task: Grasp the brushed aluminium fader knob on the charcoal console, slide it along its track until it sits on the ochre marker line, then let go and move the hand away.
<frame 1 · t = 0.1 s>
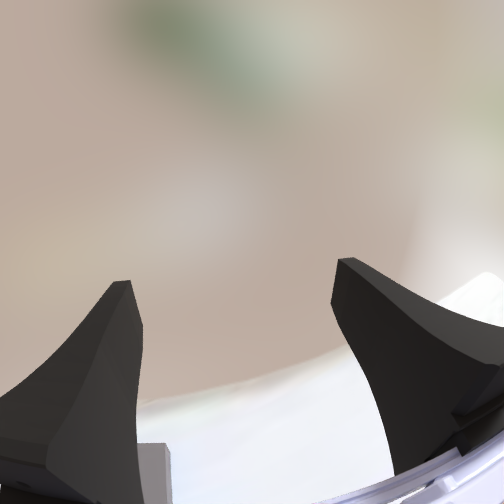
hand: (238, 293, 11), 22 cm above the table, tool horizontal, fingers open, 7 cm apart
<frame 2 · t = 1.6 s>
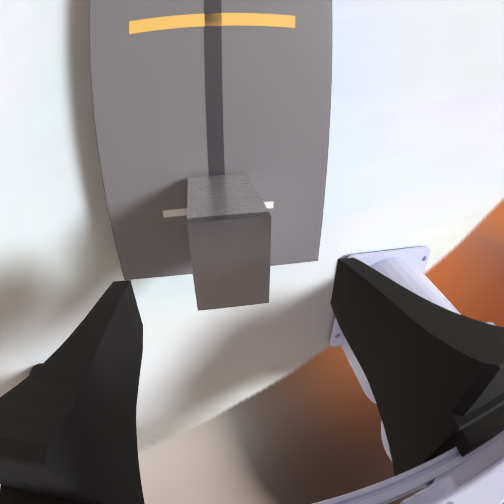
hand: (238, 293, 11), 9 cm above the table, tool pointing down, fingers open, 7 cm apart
fader console: (211, 94, 16), on the table
fader knob: (224, 234, 15), point 5 cm above the table, slide at 0.0 cm
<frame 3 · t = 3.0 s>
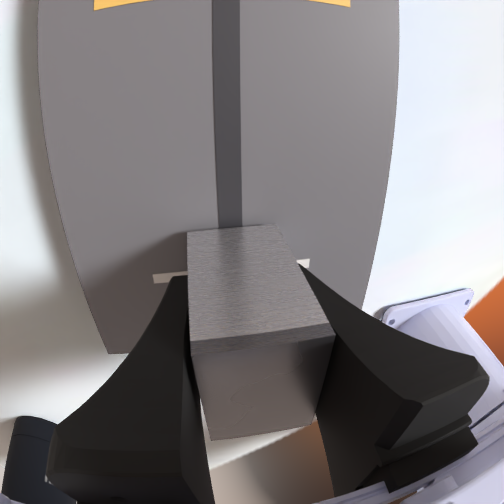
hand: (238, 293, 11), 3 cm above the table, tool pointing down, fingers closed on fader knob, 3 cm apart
fader console: (221, 101, 11), on the table
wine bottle: (48, 432, 20), on the table
fader knob: (246, 327, 10), point 5 cm above the table, slide at 0.0 cm, touching gripper
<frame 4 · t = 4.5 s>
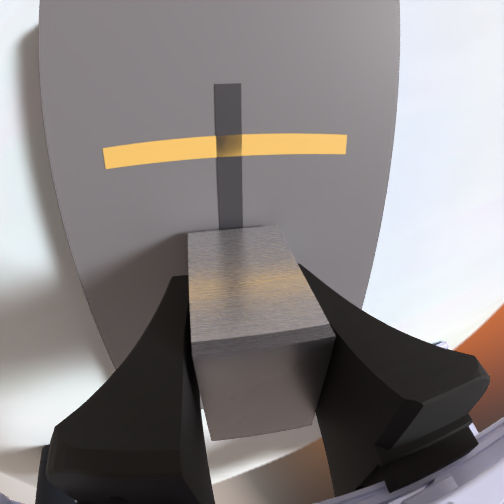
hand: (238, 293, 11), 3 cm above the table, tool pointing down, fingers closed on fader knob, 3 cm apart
fader console: (226, 230, 13), on the table
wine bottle: (72, 457, 23), on the table
fader knob: (246, 328, 10), point 5 cm above the table, slide at 5.3 cm, touching gripper
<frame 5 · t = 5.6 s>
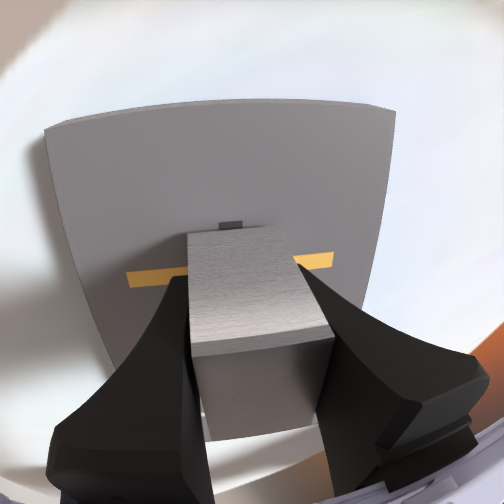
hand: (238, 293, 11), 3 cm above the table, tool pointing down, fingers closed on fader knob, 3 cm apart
fader console: (230, 314, 16), on the table
fader knob: (246, 328, 10), point 5 cm above the table, slide at 9.9 cm, touching gripper
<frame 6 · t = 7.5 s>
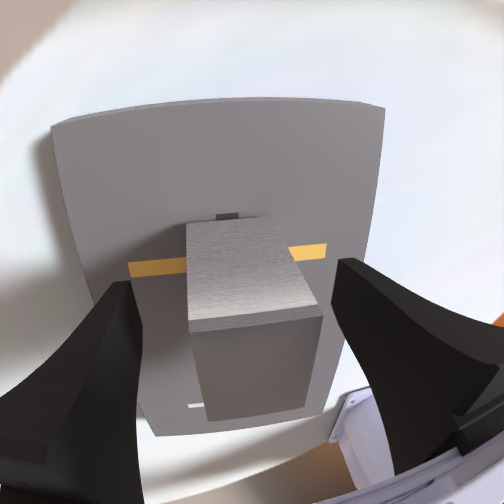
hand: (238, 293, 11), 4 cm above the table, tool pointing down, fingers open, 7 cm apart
fader console: (228, 305, 16), on the table
fader knob: (241, 313, 10), point 5 cm above the table, slide at 9.9 cm
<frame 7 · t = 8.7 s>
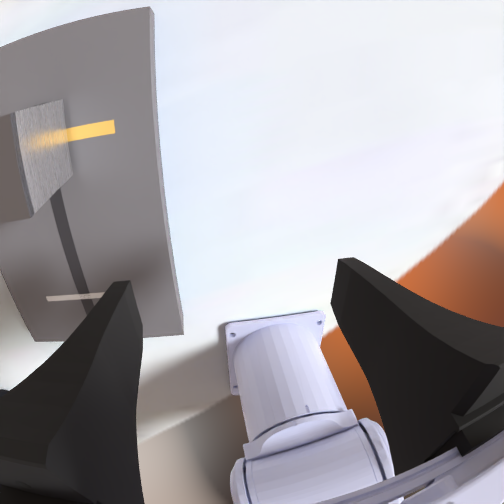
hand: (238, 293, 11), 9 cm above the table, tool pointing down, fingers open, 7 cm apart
fader console: (70, 196, 17), on the table
fader knob: (19, 156, 11), point 5 cm above the table, slide at 9.9 cm
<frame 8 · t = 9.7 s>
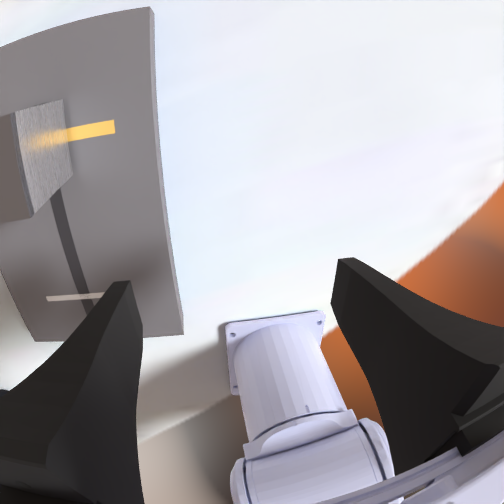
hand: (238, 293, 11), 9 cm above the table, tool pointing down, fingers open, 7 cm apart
fader console: (70, 196, 17), on the table
fader knob: (19, 156, 11), point 5 cm above the table, slide at 9.9 cm
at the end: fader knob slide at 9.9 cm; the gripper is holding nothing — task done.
